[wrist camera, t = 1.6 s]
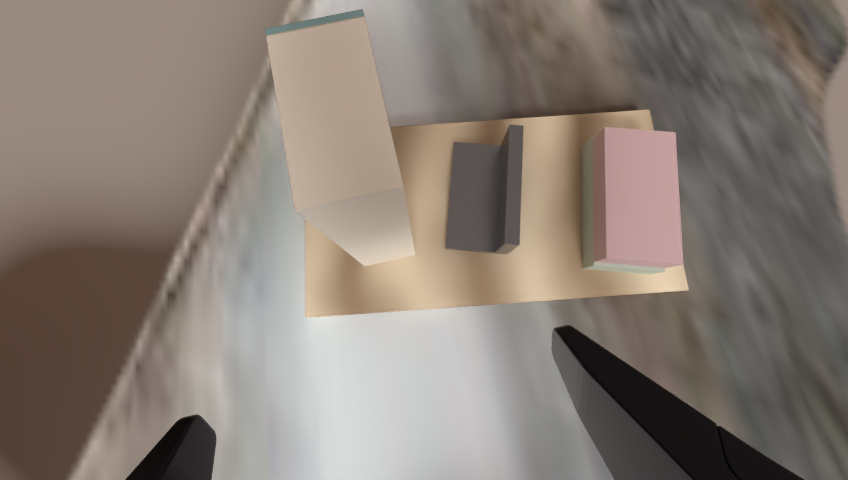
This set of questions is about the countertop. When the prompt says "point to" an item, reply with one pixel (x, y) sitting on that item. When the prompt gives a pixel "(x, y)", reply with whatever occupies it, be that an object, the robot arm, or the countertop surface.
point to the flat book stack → (631, 201)
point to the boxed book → (339, 136)
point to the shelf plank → (477, 271)
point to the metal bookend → (486, 195)
